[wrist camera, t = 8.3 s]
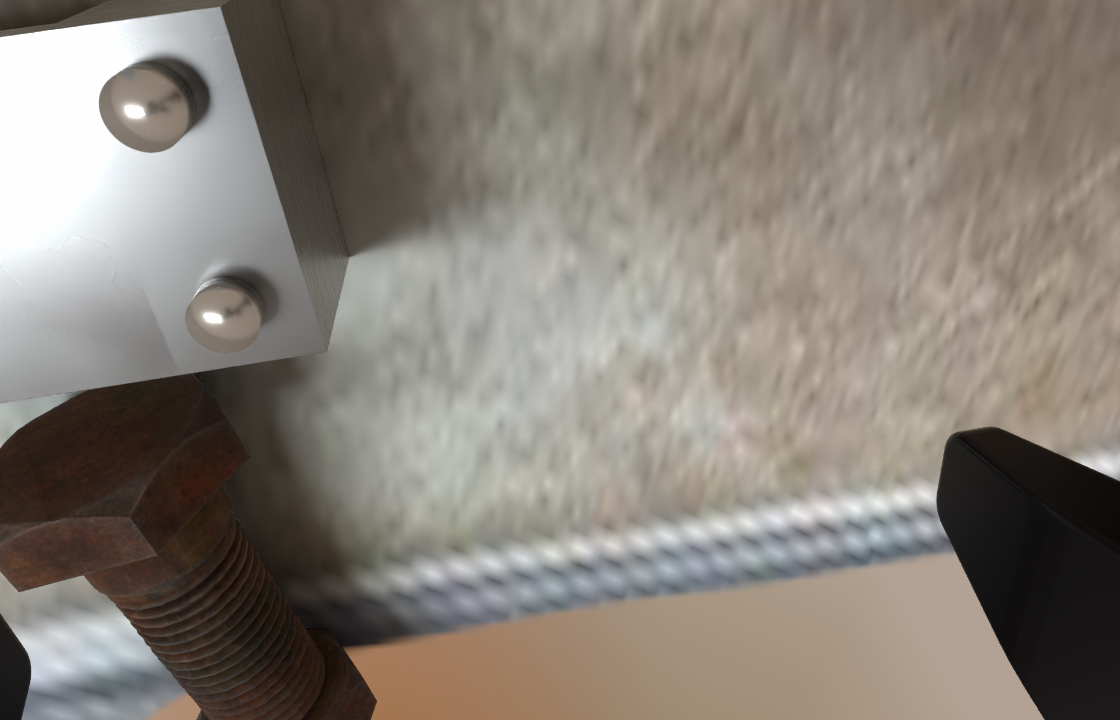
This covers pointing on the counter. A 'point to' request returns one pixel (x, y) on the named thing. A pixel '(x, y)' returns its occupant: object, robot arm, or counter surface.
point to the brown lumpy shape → (167, 548)
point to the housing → (159, 198)
